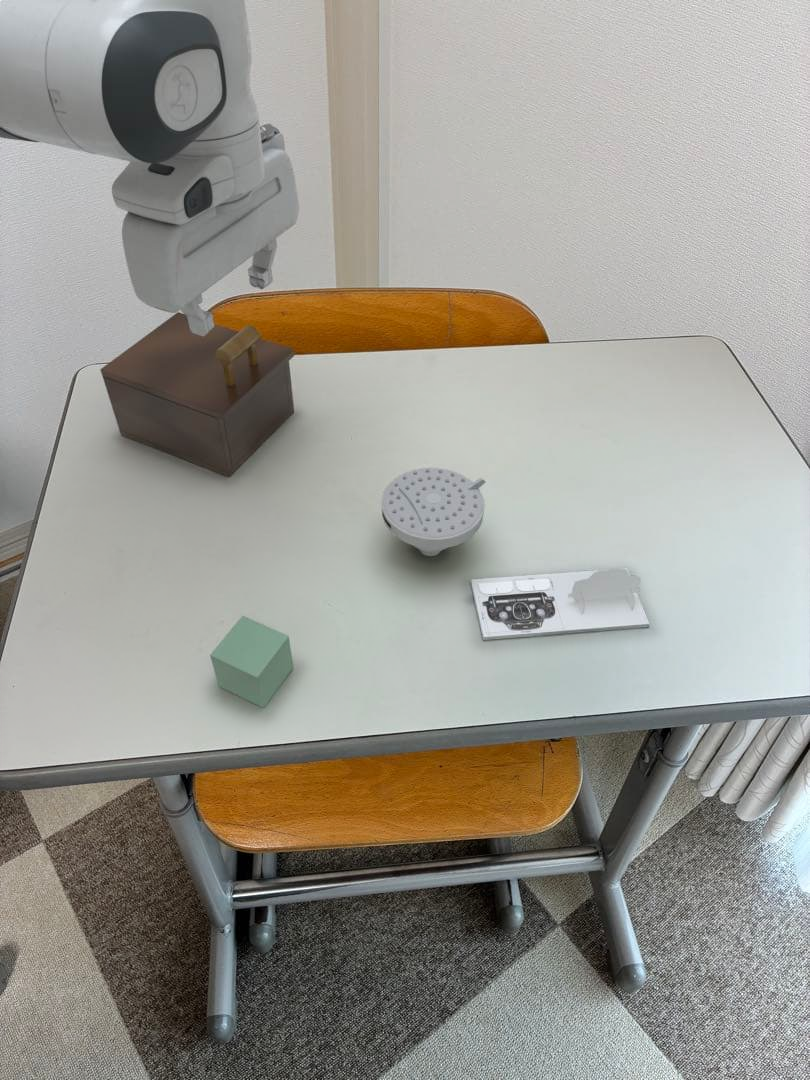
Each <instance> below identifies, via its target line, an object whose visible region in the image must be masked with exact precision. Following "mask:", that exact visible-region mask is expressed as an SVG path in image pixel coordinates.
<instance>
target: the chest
mask: <svg viewBox="0 0 810 1080" xmlns="http://www.w3.org/2000/svg"><path fill="white" fill-rule="evenodd" d="M291 377H292V376H291V368H290V360H289V361H288V362H287V363H286V364H285V365H284V366H283V367H282V368H281V369H280V370H278V371H277V372H276V373H275V374H274V375H273V376H272V377H271V378H270V379H269V380H268V381H267V382H265V383H264V384H263V385H262V386H261V387H260V388H259V389H258V390H257V391H256V392H255V393H253V394H252V395H251V396H250V397H249V398H248V399H247V400H246V401H245V402H244V403H243V404H242V405H240V406H239V407H238V408H237V409H236V410H235V411H234V412H233V413H232V414H231V415H230V416H229V417H227V418H226V419H225V420H222V419H219V418H216V417H214V416H211V415H208V414H205V413H203V412H200V411H197V410H195V409H192V408H189V407H186V406H184V405H181V404H178V403H175V402H173V401H170V400H167V399H165V398H162V397H159V396H156V395H154V394H151V393H148V392H145V391H143V390H140V389H137V388H134V387H132V386H129V385H126V384H124V383H121V382H118V381H115V380H113V379H110V378H107V377H104V376H102V379H103V382H104V386H105V389H106V393H107V395H108V398H109V401H110V405H111V408H112V412H113V414H114V417H115V421H116V424H117V427H118V431H119V433H120V436H122V437H125V438H128V439H131V440H133V441H135V442H138V443H140V444H143V445H146V446H148V447H150V448H153V449H155V450H158V451H161V452H164V453H166V454H168V455H171V456H173V457H177V458H179V459H181V460H184V461H186V462H189V463H192V464H194V465H197V466H199V467H201V468H204V469H207V470H209V471H212V472H215V473H217V474H220V475H222V476H224V477H228V478H230V477H231V476H232V475H233V474H234V473H235V472H236V471H237V470H238V469H239V468H240V467H241V466H242V465H243V464H244V463H245V462H246V461H247V460H248V459H249V458H251V456H253V454H254V453H255V452H256V451H257V450H258V449H259V448H260V447H261V446H262V445H263V444H264V443H265V442H266V441H267V440H269V438H270V437H271V436H273V434H274V433H275V432H276V431H277V430H278V429H279V428H280V427H281V426H282V425H283V424H284V423H285V422H286V421H287V420H288V419H289V418H290V417H291V416H293V414H294V413H295V408H294V406H295V405H294V395H293V387H292V378H291Z"/></svg>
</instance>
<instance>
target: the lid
mask: <svg viewBox="0 0 810 1080" xmlns="http://www.w3.org/2000/svg"><path fill="white" fill-rule="evenodd" d="M214 324H215V327H214V329H213V330H211V331H210V332H209V333H208V334H206V335H205V336H200V335H197V334H194V333H193V332H192V331H191V330H190V327H189V323H188V318H187V316H186V315H185V314H184V313H183V312H180V311H178V312H176V313H174V314H173V315H172V316H170V317H169V318H168V319H166V320H165V321H163V322H162V323H160V325H159V326H156V328H154V329H153V330H152V331H150V332H148V334H146V335H144V336H143V337H142V338H140V340H137V342H136V343H134V344H133V345H131V346H130V347H129V348H127V349H125V350H124V351H123V352H122V353H120V354H119V355H118V356H116V357H115V358H114V359H112V360H111V361H110V362H108V363H107V364H105V365H104V366H103V367H101V368H100V369H99V370H100V374H101V377H103V376H104V377H107V378H110V379H113V380H115V381H118V382H121V383H124V384H126V385H129V386H132V387H134V388H137V389H140V390H143V391H145V392H148V393H151V394H154V395H156V396H159V397H162V398H165V399H167V400H170V401H173V402H175V403H178V404H181V405H184V406H186V407H189V408H192V409H195V410H197V411H200V412H203V413H205V414H208V415H211V416H214V417H216V418H219V419H222V420H225V419H226V418H227V417H229V416H230V415H231V414H232V413H233V412H234V411H235V410H236V409H237V408H238V407H239V406H240V405H242V404H243V403H244V402H245V401H246V400H247V399H248V398H249V397H250V396H251V395H252V394H253V393H255V392H256V391H257V390H258V389H259V388H260V387H261V386H262V385H263V384H264V383H265V382H267V381H268V380H269V379H270V378H271V377H272V376H273V375H274V374H275V373H276V372H277V371H278V370H280V369H281V368H282V367H283V366H284V365H285V364H286V363H287V362H288V361H289V362H290V361H291V359H293V358H294V357H295V349H293V348H291V347H287V346H284V345H281V344H279V343H276V342H272V341H269V340H265V339H262V338H260V331H259V330H258V329H257V328H256V327H255V326H253V325H250V324H249V325H248V324H247V325H246V326H245V327H243V328H242V329H241V330H240V331H237V330H235V329H231V328H228V327H225V326H222V325H219V324H216V323H214Z"/></svg>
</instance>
